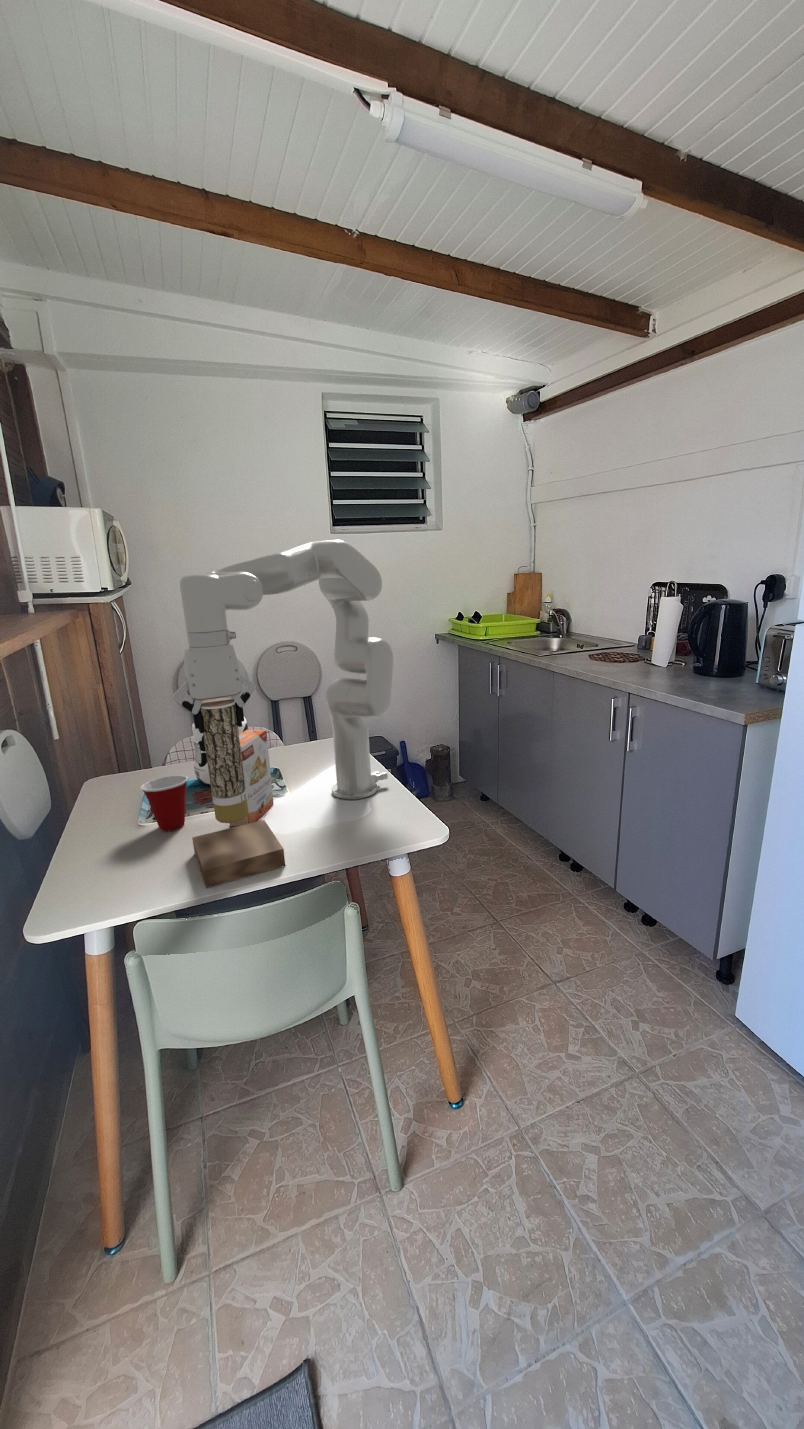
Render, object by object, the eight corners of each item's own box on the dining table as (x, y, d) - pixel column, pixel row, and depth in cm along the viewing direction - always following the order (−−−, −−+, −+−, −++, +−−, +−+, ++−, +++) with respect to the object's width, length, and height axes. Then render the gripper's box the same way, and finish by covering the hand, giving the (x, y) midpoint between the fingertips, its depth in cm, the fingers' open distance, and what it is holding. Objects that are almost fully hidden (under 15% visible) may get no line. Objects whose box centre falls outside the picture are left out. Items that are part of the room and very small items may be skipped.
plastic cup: (183, 812, 145) (177, 769, 142) (202, 824, 137) (195, 779, 134) (141, 827, 138) (132, 782, 135) (158, 840, 130) (150, 793, 127)
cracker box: (251, 828, 134) (241, 746, 129) (229, 827, 136) (217, 745, 130) (275, 804, 148) (267, 728, 142) (254, 803, 149) (245, 728, 143)
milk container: (266, 770, 173) (260, 714, 168) (238, 792, 157) (230, 731, 152) (216, 767, 177) (209, 713, 172) (184, 789, 161) (175, 729, 156)
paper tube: (218, 827, 113) (201, 708, 106) (213, 815, 119) (196, 701, 112) (252, 819, 116) (237, 703, 109) (245, 807, 122) (231, 696, 115)
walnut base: (266, 835, 130) (264, 819, 129) (285, 865, 117) (283, 848, 116) (194, 853, 123) (192, 837, 122) (206, 888, 110) (203, 870, 109)
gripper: (249, 634, 115) (258, 717, 119) (158, 642, 107) (172, 731, 112) (257, 637, 108) (267, 725, 113) (162, 646, 101) (176, 740, 105)
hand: (220, 727), depth 112 cm, fingers closed on paper tube, 6 cm apart
